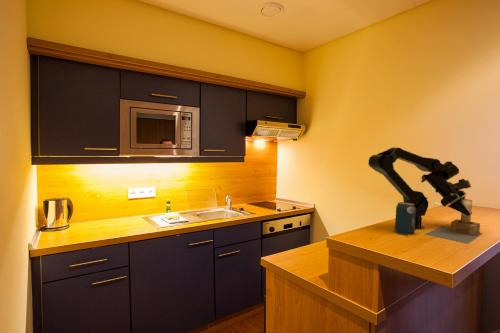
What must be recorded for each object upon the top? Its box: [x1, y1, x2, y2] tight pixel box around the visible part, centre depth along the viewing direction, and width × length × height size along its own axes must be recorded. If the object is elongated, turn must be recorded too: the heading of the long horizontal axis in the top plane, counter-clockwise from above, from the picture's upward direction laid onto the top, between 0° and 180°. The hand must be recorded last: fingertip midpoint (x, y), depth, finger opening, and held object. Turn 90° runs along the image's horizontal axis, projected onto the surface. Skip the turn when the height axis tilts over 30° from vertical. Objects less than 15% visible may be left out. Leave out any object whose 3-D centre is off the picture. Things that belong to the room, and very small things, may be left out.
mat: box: [424, 225, 483, 245], centre depth 114 cm, size 22×14×1 cm, turn 130°
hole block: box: [450, 218, 481, 236], centre depth 117 cm, size 8×8×4 cm
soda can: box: [394, 201, 416, 236], centre depth 114 cm, size 7×7×12 cm
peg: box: [460, 198, 473, 224], centre depth 117 cm, size 3×3×12 cm
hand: (470, 214), depth 116 cm, fingers closed on peg, 3 cm apart
